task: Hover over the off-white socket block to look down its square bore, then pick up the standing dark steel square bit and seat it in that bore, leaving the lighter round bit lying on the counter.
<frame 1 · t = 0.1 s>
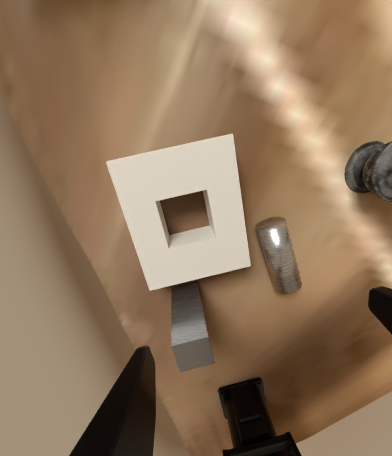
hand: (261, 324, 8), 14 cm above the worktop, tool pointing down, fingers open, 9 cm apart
square bit: (187, 294, 24), on the worktop
socket block: (184, 210, 21), on the worktop
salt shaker: (366, 168, 22), on the worktop
round bit: (273, 249, 24), on the worktop
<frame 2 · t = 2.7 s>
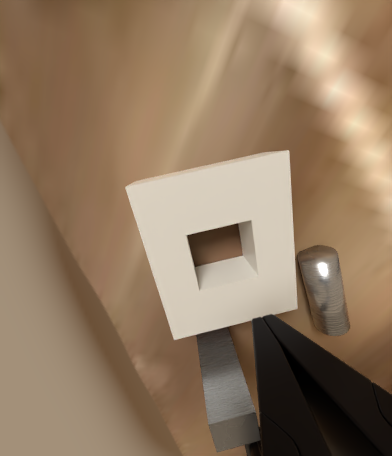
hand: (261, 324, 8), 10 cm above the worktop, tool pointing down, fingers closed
square bit: (212, 333, 21), on the worktop
socket block: (214, 238, 17), on the worktop
round bit: (315, 281, 20), on the worktop, tilted 7°
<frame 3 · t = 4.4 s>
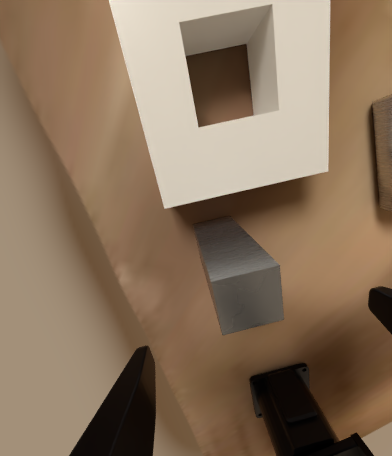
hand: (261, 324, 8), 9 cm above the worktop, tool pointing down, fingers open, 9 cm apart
square bit: (214, 237, 17), on the worktop
socket block: (218, 91, 13), on the worktop
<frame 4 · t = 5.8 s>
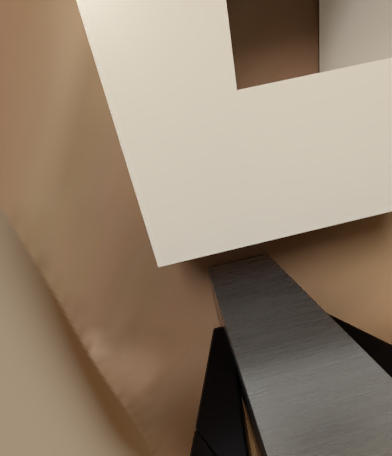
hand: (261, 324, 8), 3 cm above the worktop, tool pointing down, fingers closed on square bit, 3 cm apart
square bit: (241, 286, 10), on the worktop, touching gripper
socket block: (259, 37, 7), on the worktop
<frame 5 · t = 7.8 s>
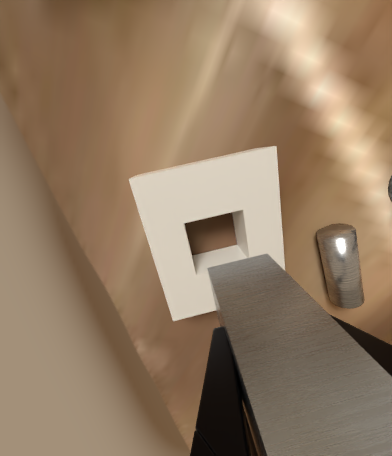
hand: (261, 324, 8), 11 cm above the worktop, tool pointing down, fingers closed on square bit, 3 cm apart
square bit: (241, 286, 10), point 9 cm above the worktop, touching gripper
socket block: (210, 228, 19), on the worktop
round bit: (332, 275, 20), point 2 cm above the worktop, tilted 115°
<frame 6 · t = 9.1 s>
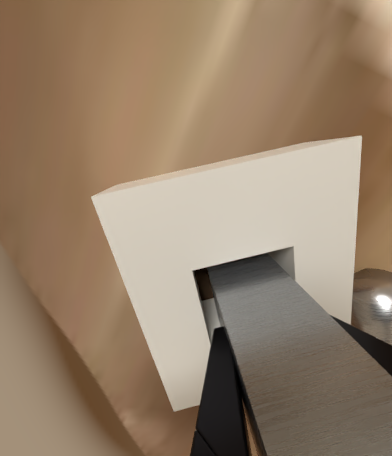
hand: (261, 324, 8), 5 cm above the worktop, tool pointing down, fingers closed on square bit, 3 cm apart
square bit: (241, 286, 10), point 2 cm above the worktop, touching gripper
socket block: (229, 263, 13), on the worktop
round bit: (358, 314, 16), on the worktop
when the fingers open (4 cm above the worktop, at t = 9.5 s): square bit drops 2 cm, resting in socket block.
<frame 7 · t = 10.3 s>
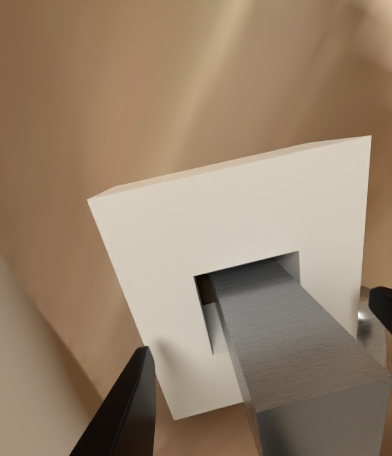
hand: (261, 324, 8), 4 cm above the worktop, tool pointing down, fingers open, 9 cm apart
square bit: (231, 266, 12), resting in socket block
socket block: (231, 267, 12), on the worktop
round bit: (372, 332, 14), point 1 cm above the worktop, tilted 76°
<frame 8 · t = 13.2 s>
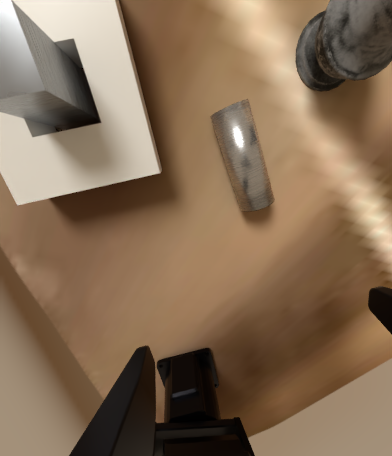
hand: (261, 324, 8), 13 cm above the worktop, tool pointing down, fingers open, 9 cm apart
square bit: (78, 104, 16), resting in socket block
socket block: (77, 105, 16), on the worktop
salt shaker: (325, 54, 17), on the worktop
round bit: (231, 166, 16), point 2 cm above the worktop, tilted 116°
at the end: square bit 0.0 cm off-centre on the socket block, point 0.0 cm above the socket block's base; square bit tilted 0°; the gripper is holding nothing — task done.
